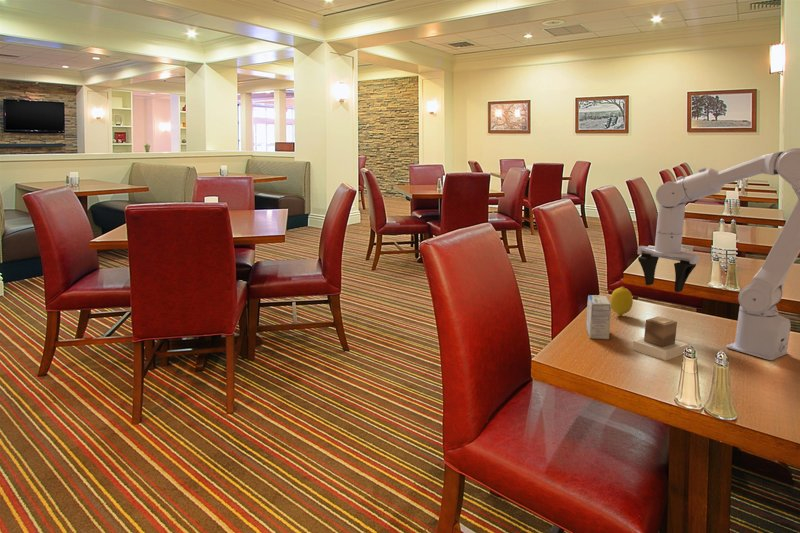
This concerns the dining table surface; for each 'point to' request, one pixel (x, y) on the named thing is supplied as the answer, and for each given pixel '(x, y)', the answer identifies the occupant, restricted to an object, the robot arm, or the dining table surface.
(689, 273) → the robot arm
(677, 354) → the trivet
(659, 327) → the walnut block
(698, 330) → the dining table surface
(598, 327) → the medicine box
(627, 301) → the lemon
